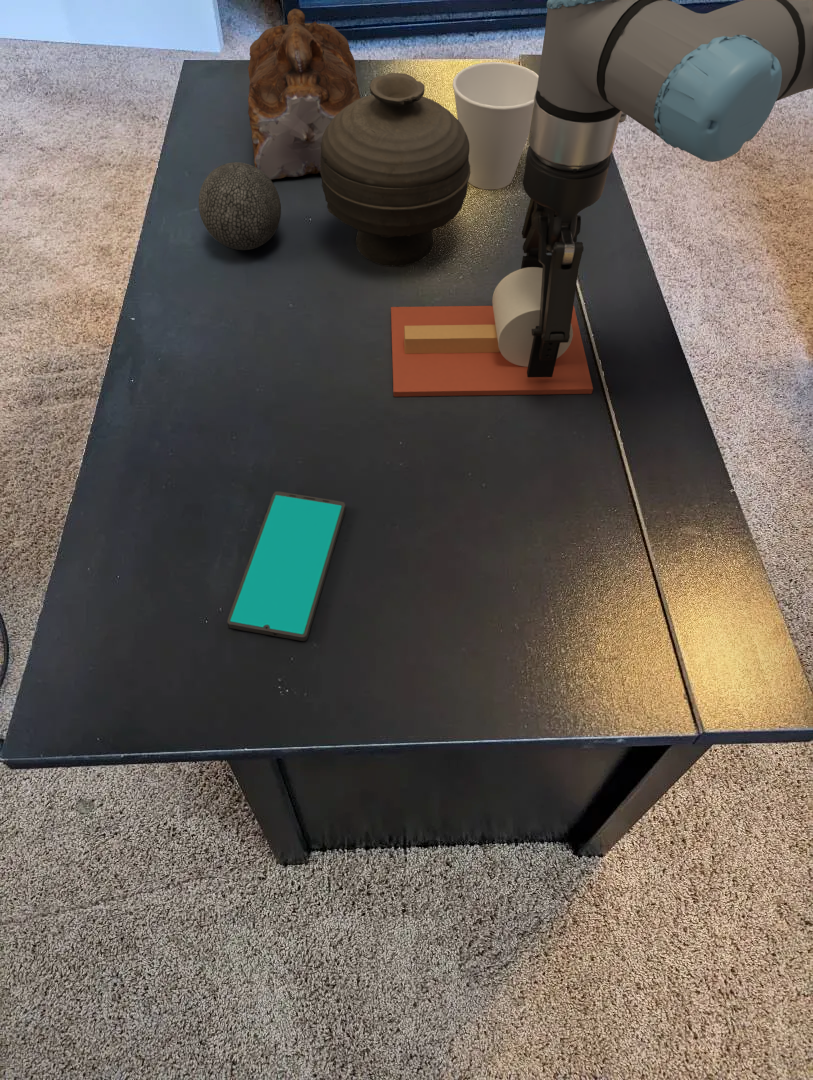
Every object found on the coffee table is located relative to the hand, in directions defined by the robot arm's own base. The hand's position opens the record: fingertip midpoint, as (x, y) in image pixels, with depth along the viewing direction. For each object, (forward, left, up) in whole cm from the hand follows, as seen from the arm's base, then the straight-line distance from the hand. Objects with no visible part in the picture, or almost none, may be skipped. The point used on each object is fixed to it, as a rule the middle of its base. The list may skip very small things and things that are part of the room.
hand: (532, 338), depth 86 cm
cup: (+34, -11, -2) cm, 36 cm away
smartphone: (-17, +35, -2) cm, 39 cm away
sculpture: (+51, +10, -2) cm, 52 cm away
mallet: (+2, +5, -1) cm, 6 cm away
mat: (+2, +5, -2) cm, 5 cm away
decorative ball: (+32, +25, -2) cm, 40 cm away
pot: (+25, +7, -2) cm, 26 cm away
